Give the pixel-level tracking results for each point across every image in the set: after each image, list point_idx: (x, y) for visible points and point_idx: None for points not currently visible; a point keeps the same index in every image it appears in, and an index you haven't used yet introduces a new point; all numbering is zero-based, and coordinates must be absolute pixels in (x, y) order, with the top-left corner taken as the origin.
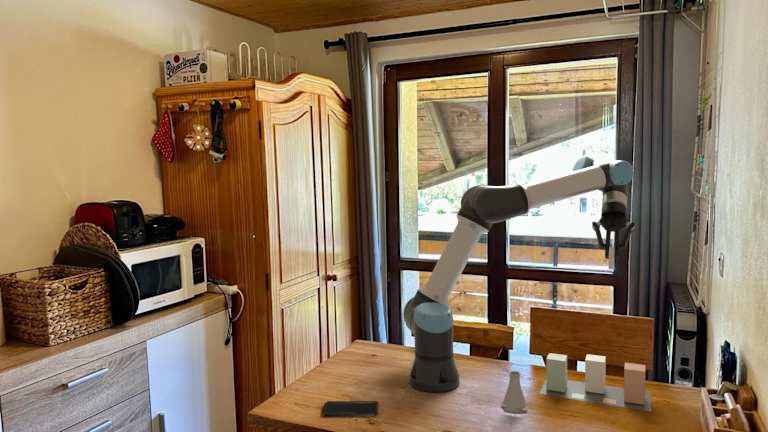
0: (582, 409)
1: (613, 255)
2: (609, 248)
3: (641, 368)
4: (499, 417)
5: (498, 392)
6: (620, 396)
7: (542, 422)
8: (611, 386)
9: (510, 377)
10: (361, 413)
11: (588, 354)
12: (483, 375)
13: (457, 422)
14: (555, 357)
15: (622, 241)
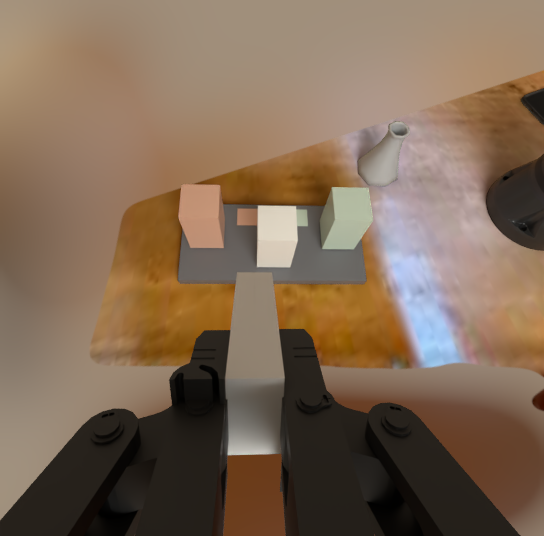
0: (285, 200)
1: (237, 312)
2: (280, 361)
3: (187, 196)
4: None
5: (420, 212)
6: (230, 242)
7: (330, 147)
8: None
9: (401, 130)
10: (538, 93)
11: (294, 240)
12: (476, 270)
13: (426, 115)
14: (354, 199)
15: (93, 481)
